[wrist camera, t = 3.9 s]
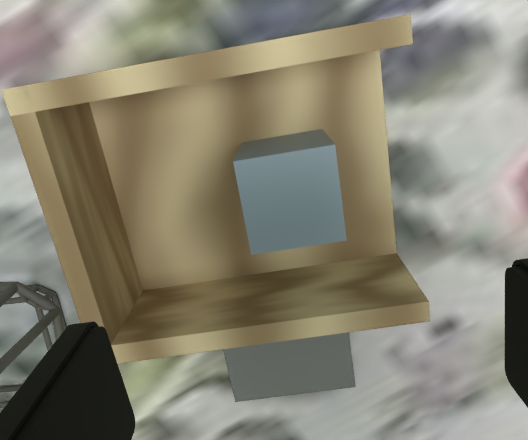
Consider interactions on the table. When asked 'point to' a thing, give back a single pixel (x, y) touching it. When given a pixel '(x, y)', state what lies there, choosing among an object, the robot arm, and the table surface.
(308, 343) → the coaster
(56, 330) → the geometric lantern
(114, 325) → the box
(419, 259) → the table surface
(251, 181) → the block
